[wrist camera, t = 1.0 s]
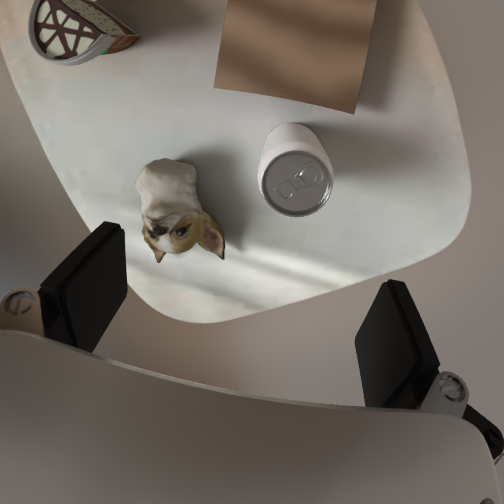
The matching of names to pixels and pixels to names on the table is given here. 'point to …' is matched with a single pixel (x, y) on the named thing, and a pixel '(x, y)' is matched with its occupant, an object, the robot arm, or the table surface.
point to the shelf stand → (296, 49)
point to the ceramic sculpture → (175, 210)
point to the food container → (76, 31)
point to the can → (294, 171)
